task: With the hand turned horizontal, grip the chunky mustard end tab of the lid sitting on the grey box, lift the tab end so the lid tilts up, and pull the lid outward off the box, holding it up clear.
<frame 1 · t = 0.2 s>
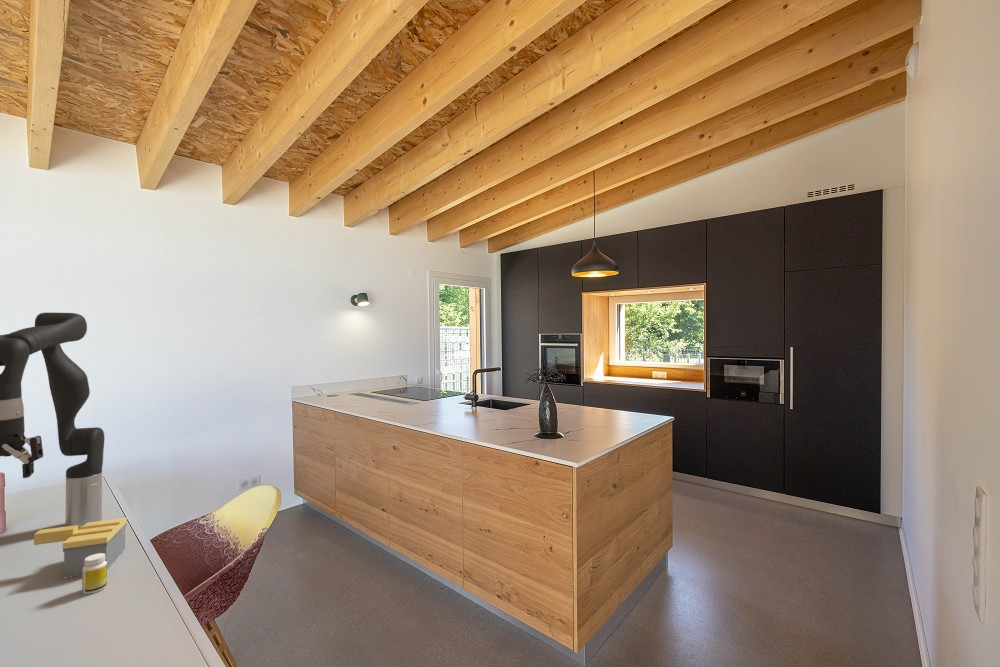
hand: (5, 479, 115), 29 cm above the table, tool pointing down, fingers open, 8 cm apart
lid: (96, 534, 129), point 8 cm above the table, touching grey box
supplement bottle: (94, 590, 116), on the table
grey box: (96, 562, 129), on the table
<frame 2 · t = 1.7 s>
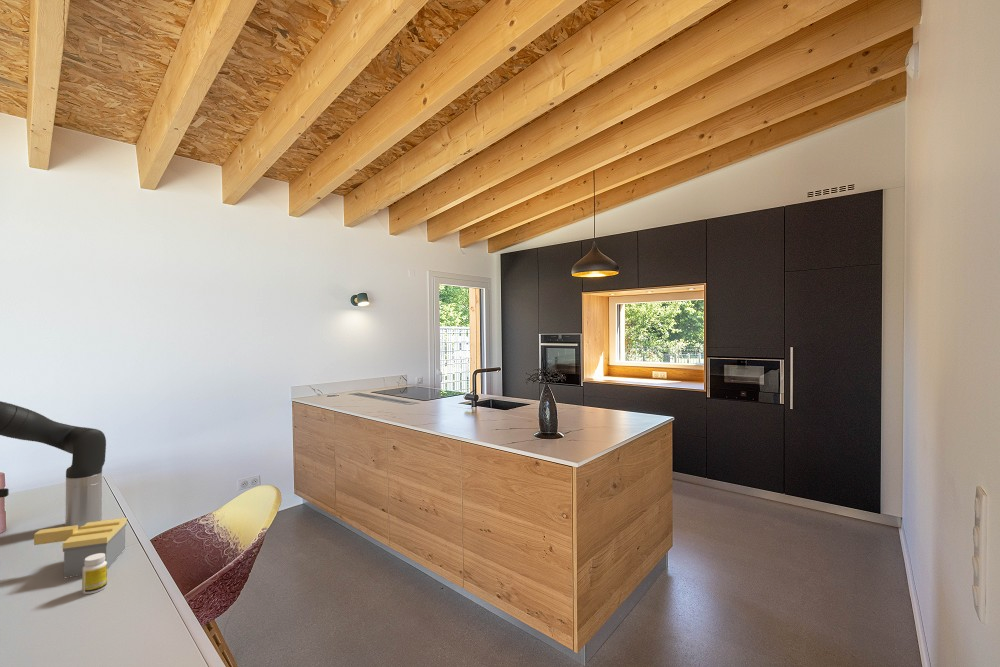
nothing on the table moved.
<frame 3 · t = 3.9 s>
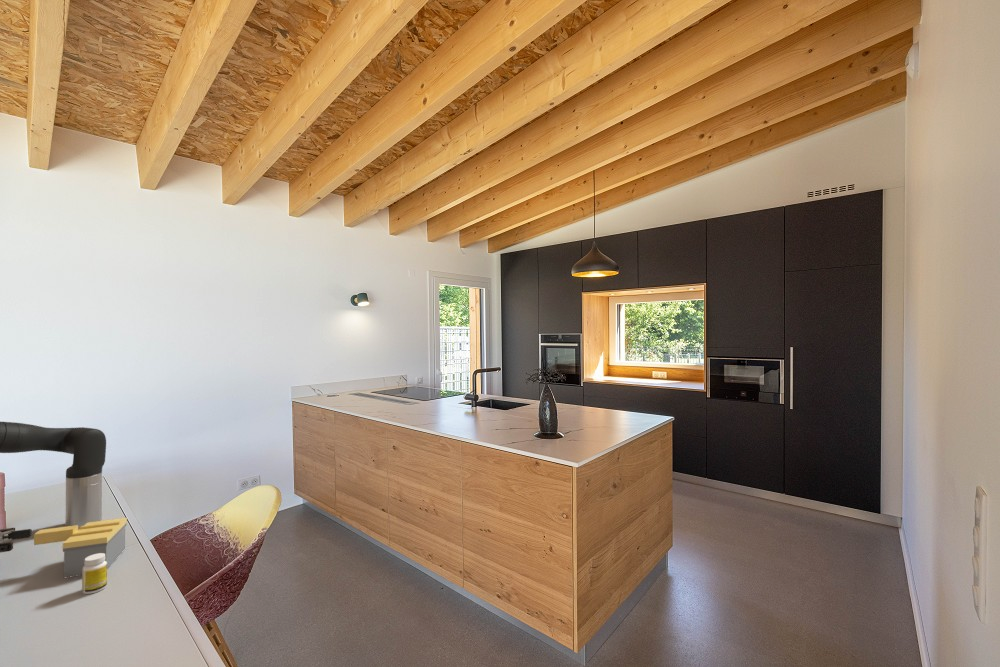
hand: (22, 539, 123), 9 cm above the table, tool horizontal, fingers open, 8 cm apart
nothing on the table moved.
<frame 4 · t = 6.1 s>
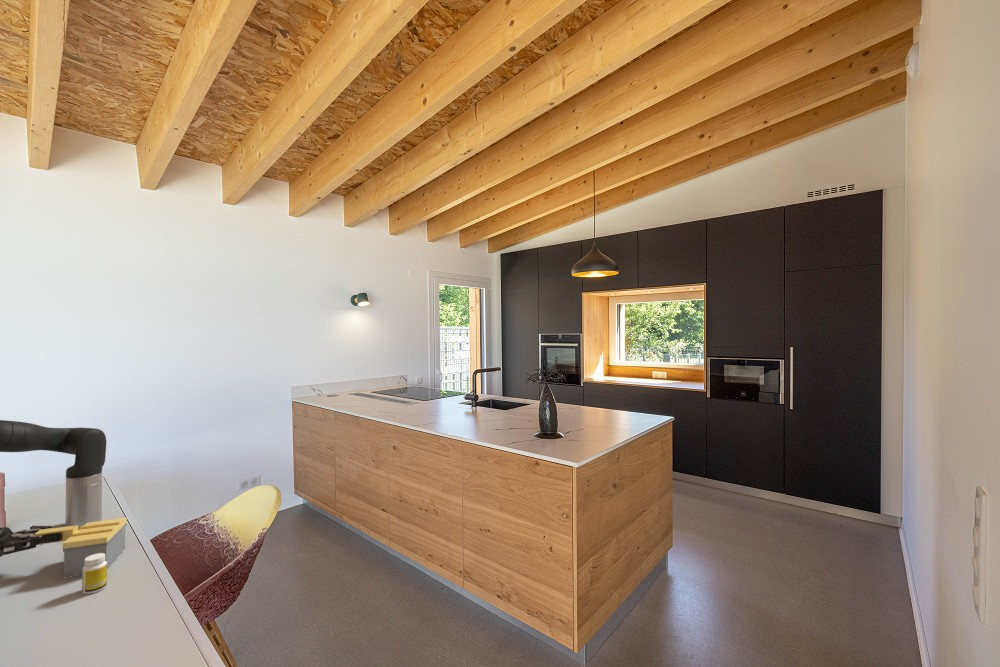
hand: (64, 533, 126), 10 cm above the table, tool horizontal, fingers closed on lid, 3 cm apart
lid: (96, 534, 129), point 8 cm above the table, touching gripper, grey box
everything else where it was.
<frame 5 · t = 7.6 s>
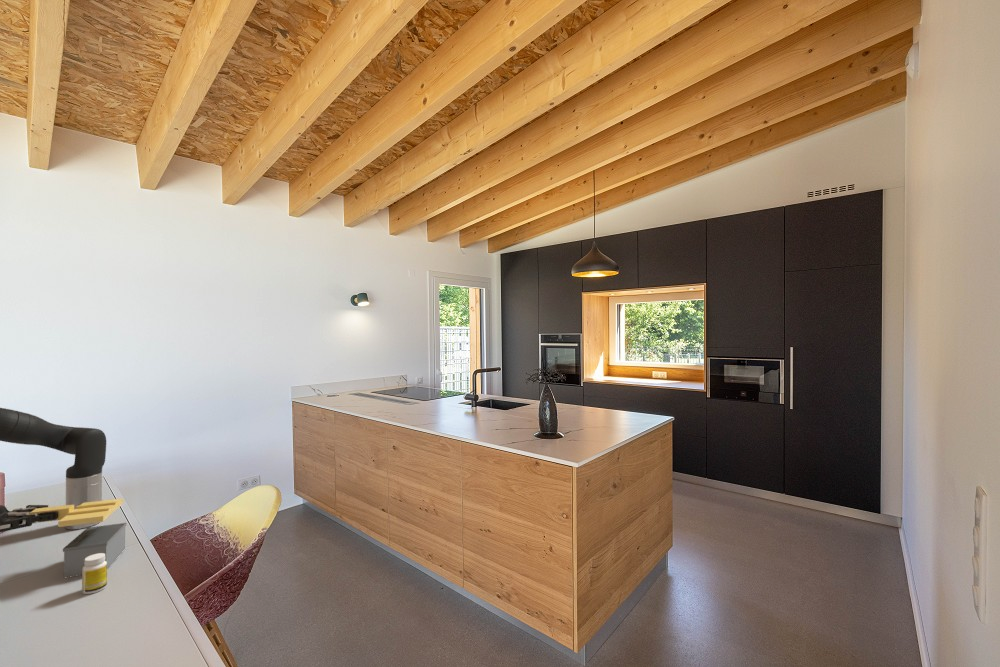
hand: (60, 512, 126), 16 cm above the table, tool horizontal, fingers closed on lid, 3 cm apart
lid: (92, 514, 129), point 14 cm above the table, touching gripper
everything else where it was.
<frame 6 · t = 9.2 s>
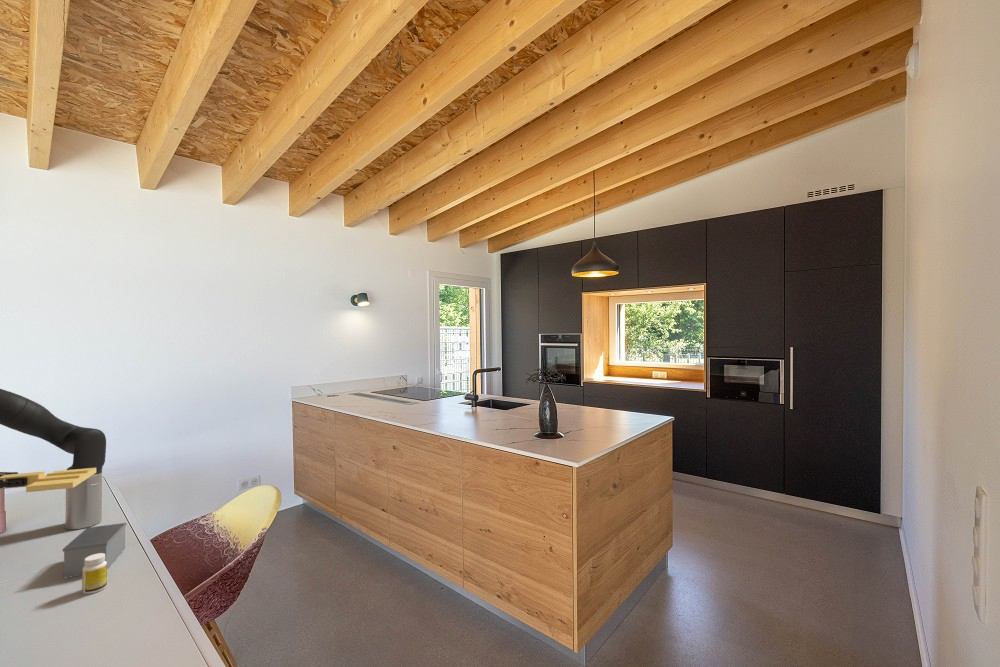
hand: (30, 479, 124), 26 cm above the table, tool horizontal, fingers closed on lid, 3 cm apart
lid: (63, 481, 126), point 24 cm above the table, touching gripper
everything else where it was.
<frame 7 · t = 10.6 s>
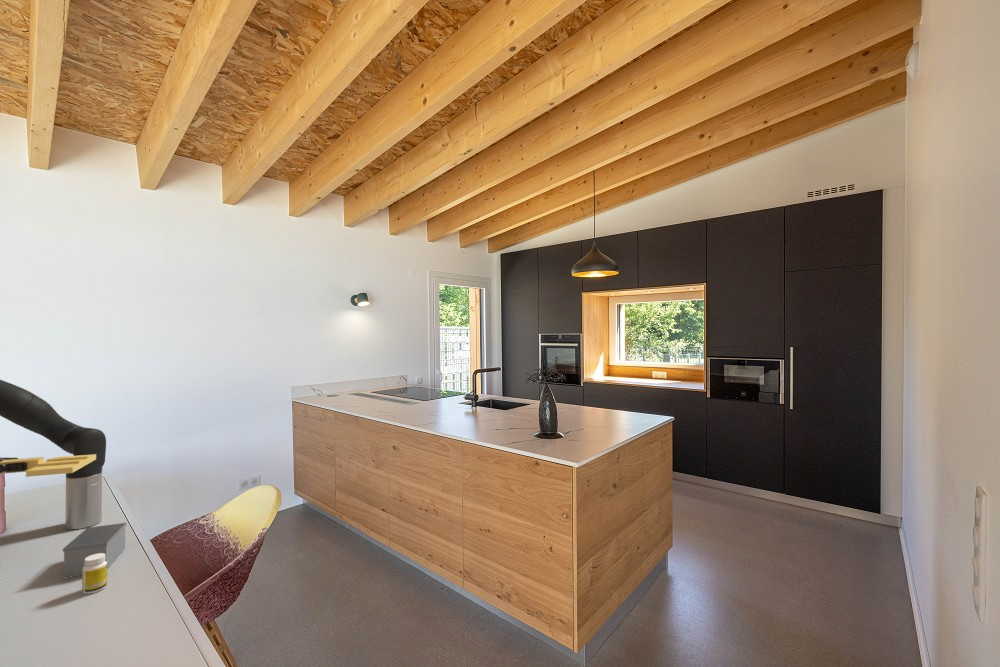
hand: (29, 464, 124), 30 cm above the table, tool horizontal, fingers closed on lid, 3 cm apart
lid: (63, 467, 126), point 28 cm above the table, touching gripper
everything else where it was.
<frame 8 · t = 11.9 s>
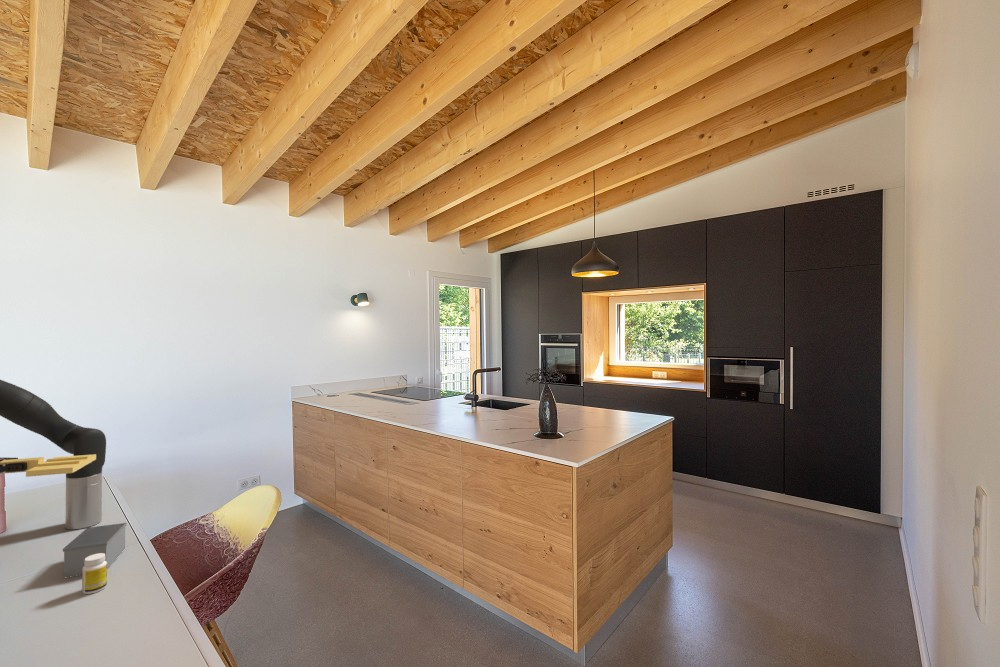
hand: (29, 464, 124), 30 cm above the table, tool horizontal, fingers closed on lid, 3 cm apart
lid: (63, 467, 126), point 28 cm above the table, touching gripper
everything else where it was.
at the end: lid moved 21.6 cm from its start; lid touching gripper; the gripper is holding lid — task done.
